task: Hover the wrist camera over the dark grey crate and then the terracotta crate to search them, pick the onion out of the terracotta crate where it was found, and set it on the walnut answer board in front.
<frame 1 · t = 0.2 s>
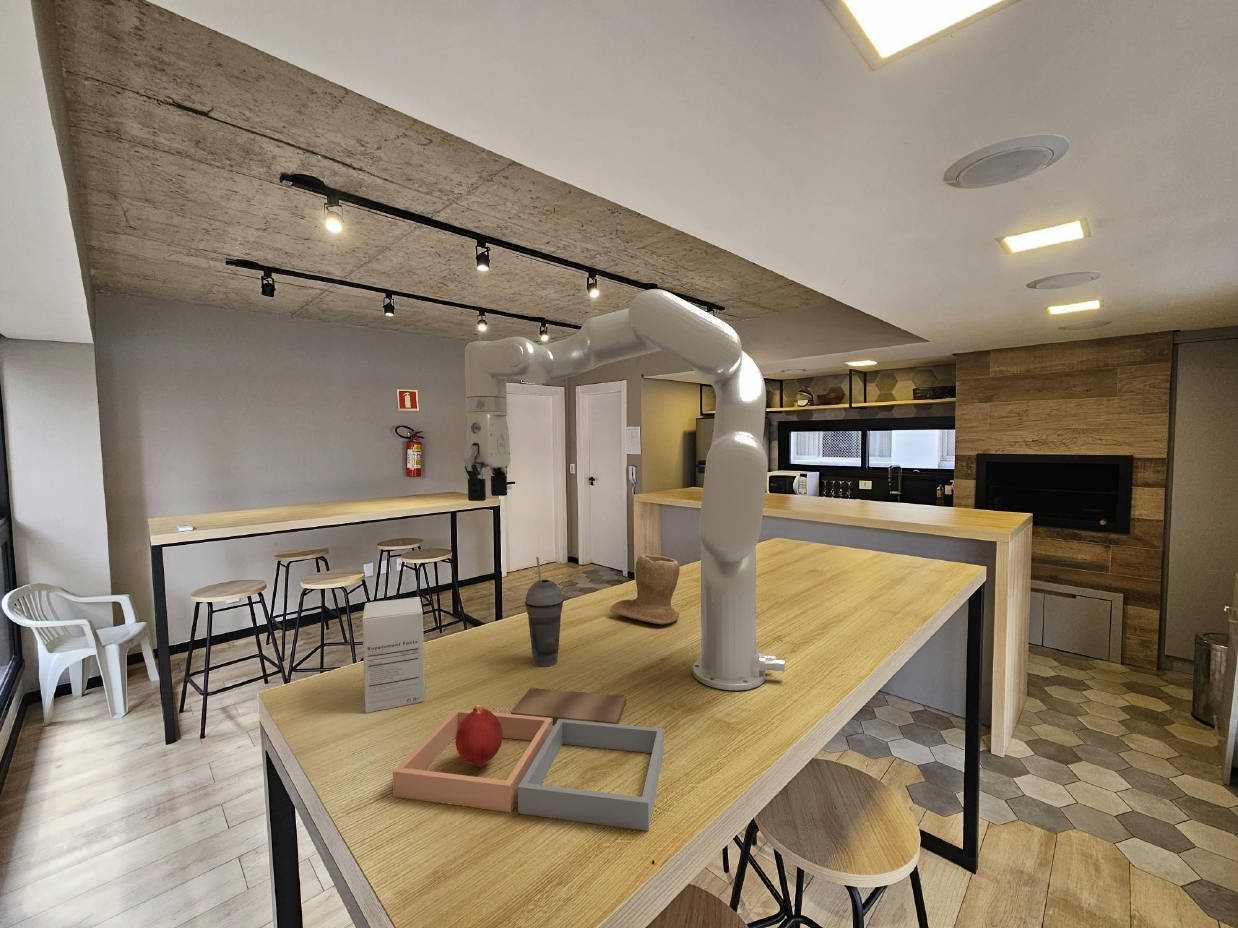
hand: (488, 498, 99), 31 cm above the table, fingers open, 9 cm apart
brown boot-shaped piece: (649, 618, 122), on the table
terracotta crate: (480, 765, 66), on the table
onion: (480, 766, 66), resting in terracotta crate
answer board: (570, 711, 79), on the table
beverage cup: (545, 662, 98), on the table
grey crate: (597, 779, 63), on the table
supplement box: (395, 696, 85), on the table
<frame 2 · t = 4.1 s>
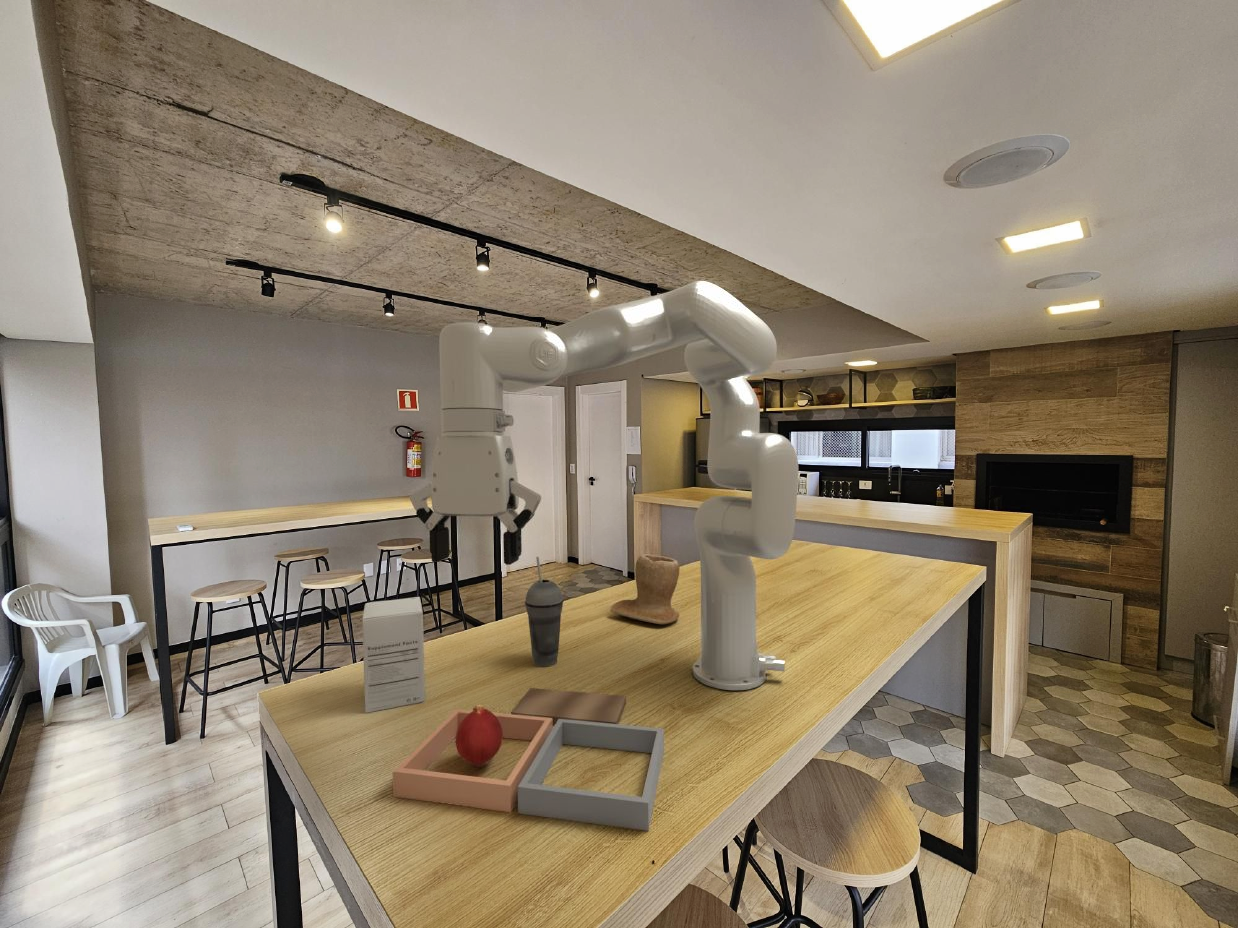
hand: (475, 561, 65), 26 cm above the table, fingers open, 9 cm apart
nothing on the table moved.
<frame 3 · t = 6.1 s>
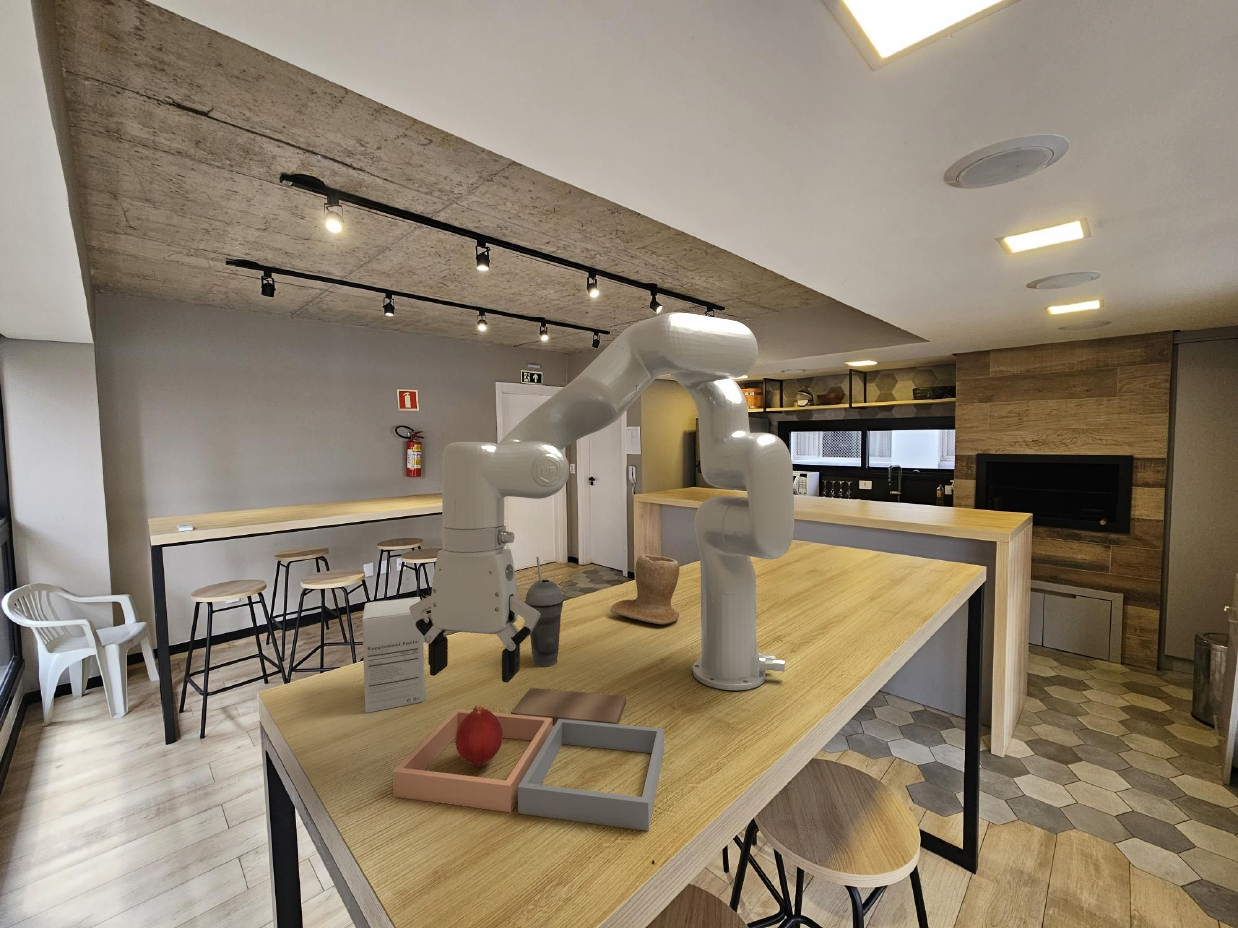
hand: (473, 674, 65), 12 cm above the table, fingers open, 9 cm apart
nothing on the table moved.
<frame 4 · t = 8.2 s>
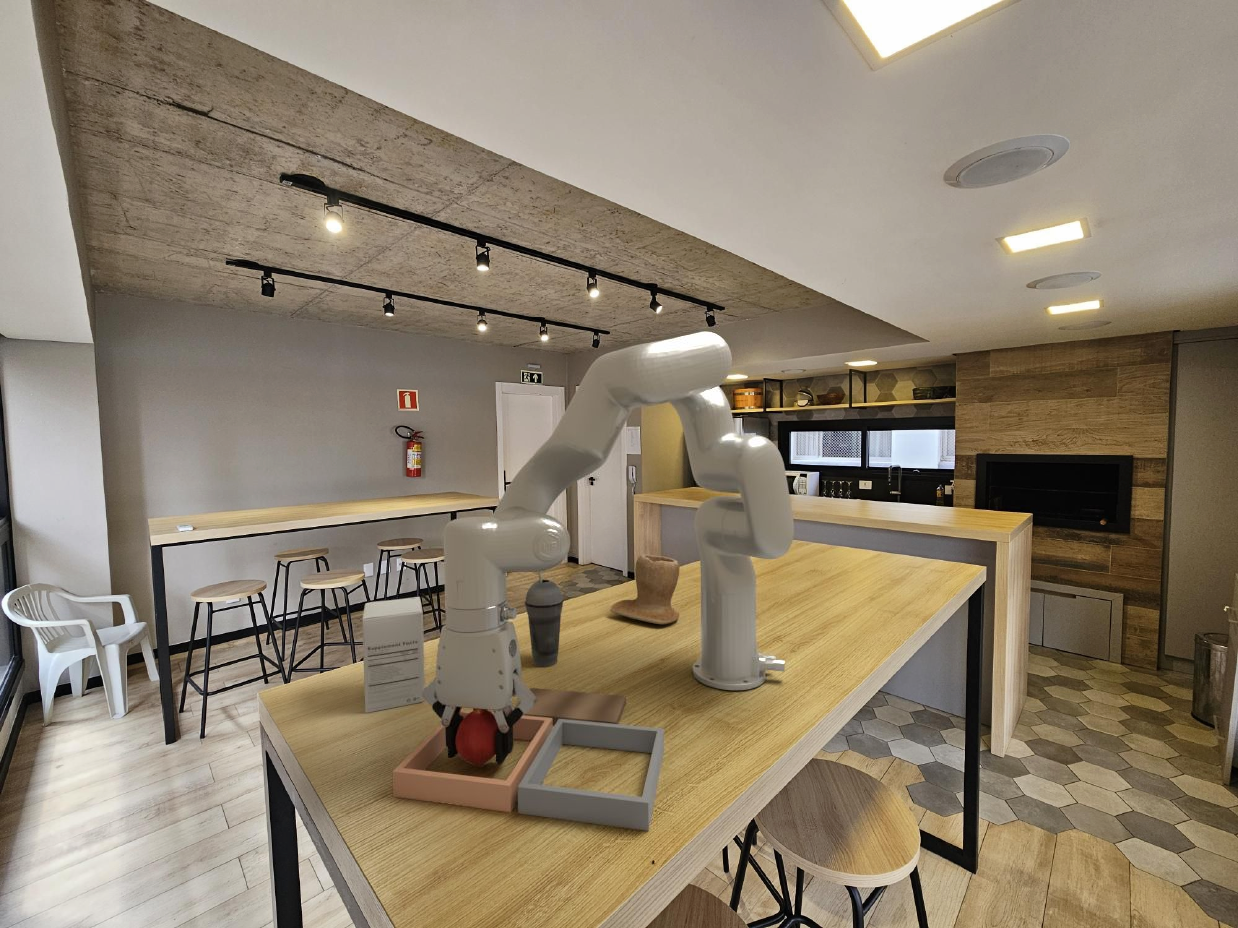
hand: (479, 753, 66), 2 cm above the table, fingers closed on onion, 5 cm apart
onion: (479, 766, 66), resting in terracotta crate, touching gripper
everything else where it was.
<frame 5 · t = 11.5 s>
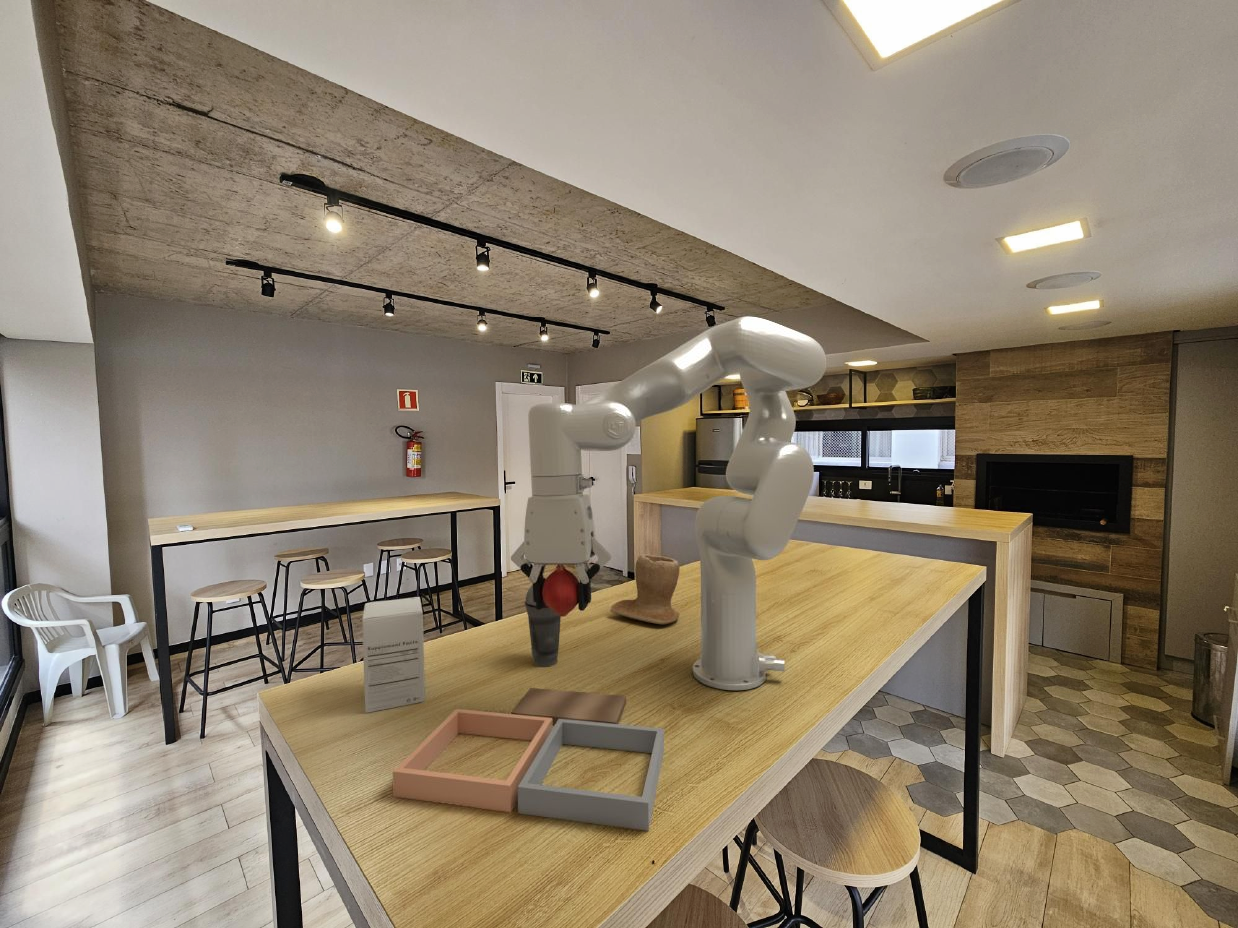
hand: (562, 606, 77), 17 cm above the table, fingers closed on onion, 5 cm apart
onion: (562, 617, 78), point 15 cm above the table, touching gripper
everything else where it was.
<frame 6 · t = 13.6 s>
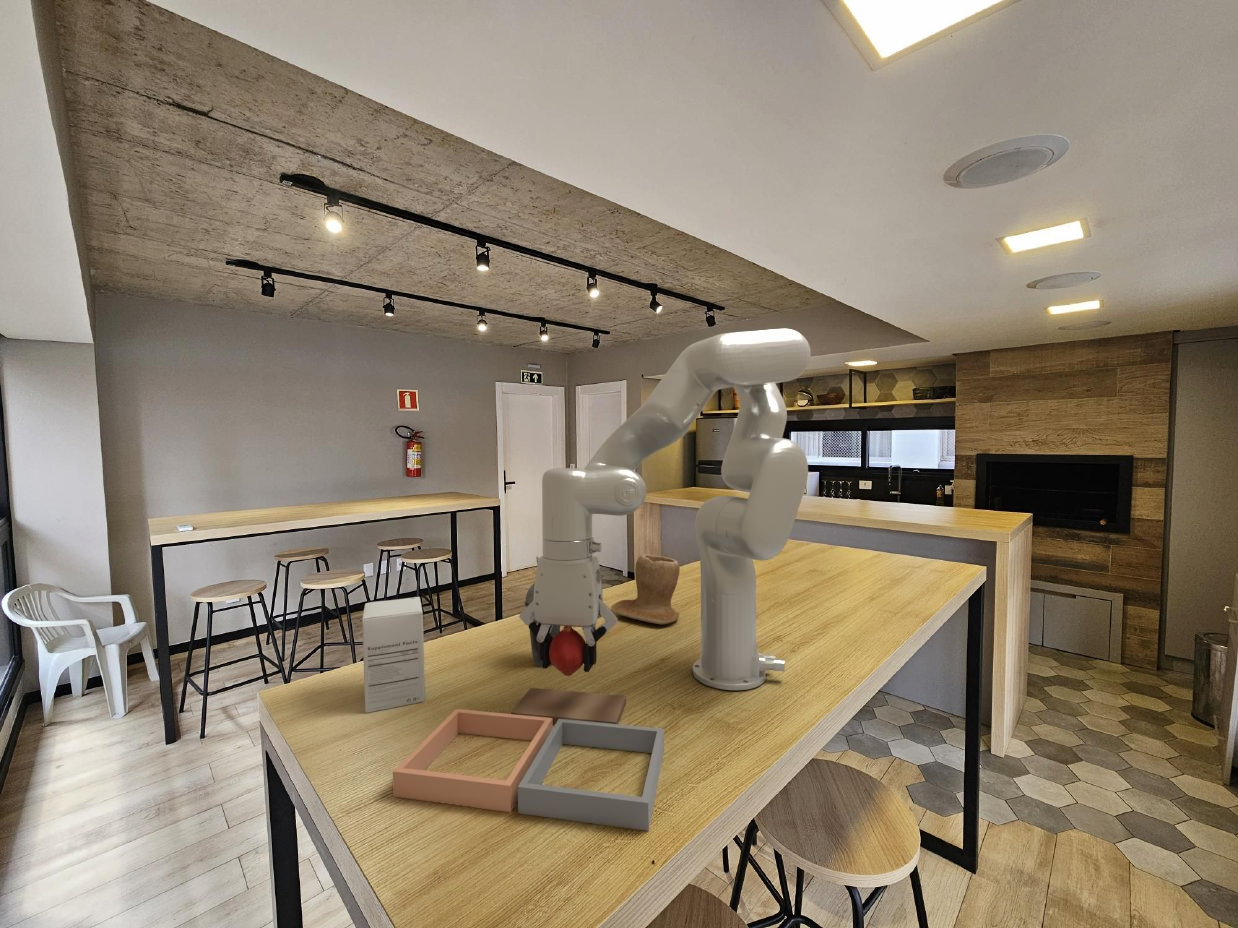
hand: (568, 665, 79), 7 cm above the table, fingers closed on onion, 5 cm apart
onion: (568, 676, 79), point 5 cm above the table, touching gripper
everything else where it was.
when the fingers open (4 cm above the table, at t = 15.1 s): onion drops 1 cm, resting on answer board.
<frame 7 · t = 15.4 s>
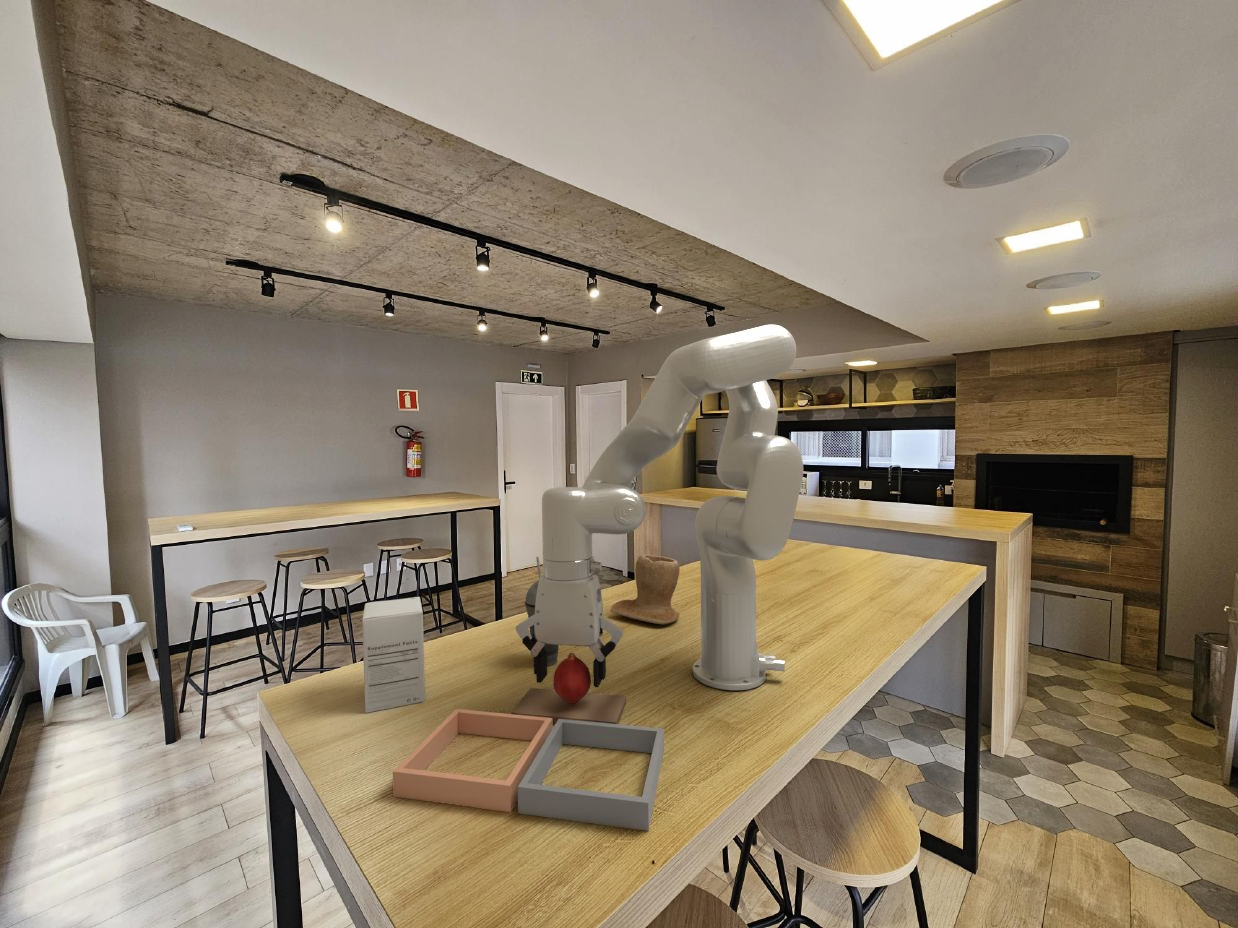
hand: (569, 680, 79), 5 cm above the table, fingers open, 8 cm apart
onion: (572, 704, 79), point 1 cm above the table, touching answer board
everything else where it was.
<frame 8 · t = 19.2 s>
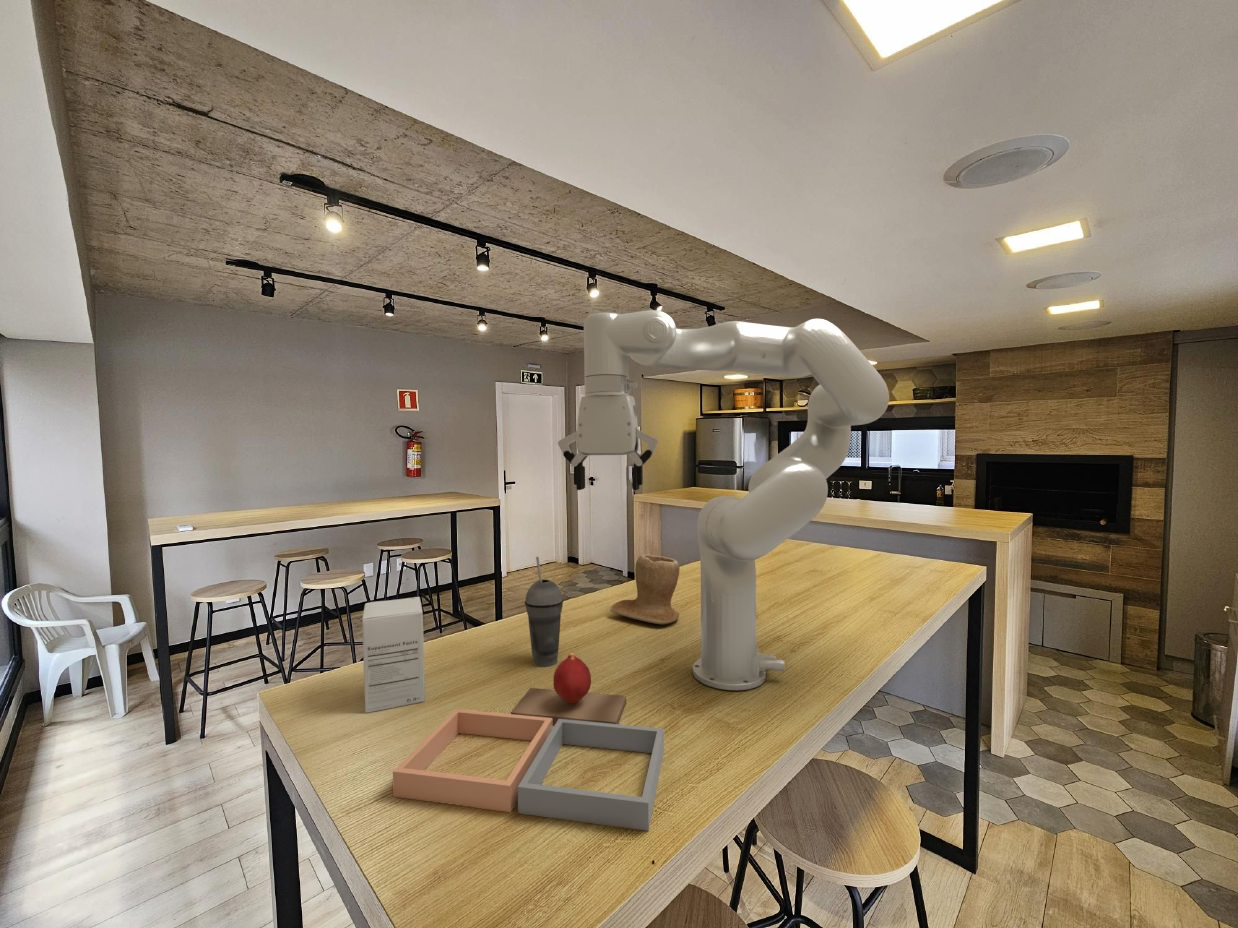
hand: (608, 489, 88), 33 cm above the table, fingers open, 9 cm apart
nothing on the table moved.
at the end: onion inside the target area on the answer board (0.4 cm from its centre), point 1.0 cm above the answer board's base; the gripper is holding nothing; onion moved 17.1 cm from its start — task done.
